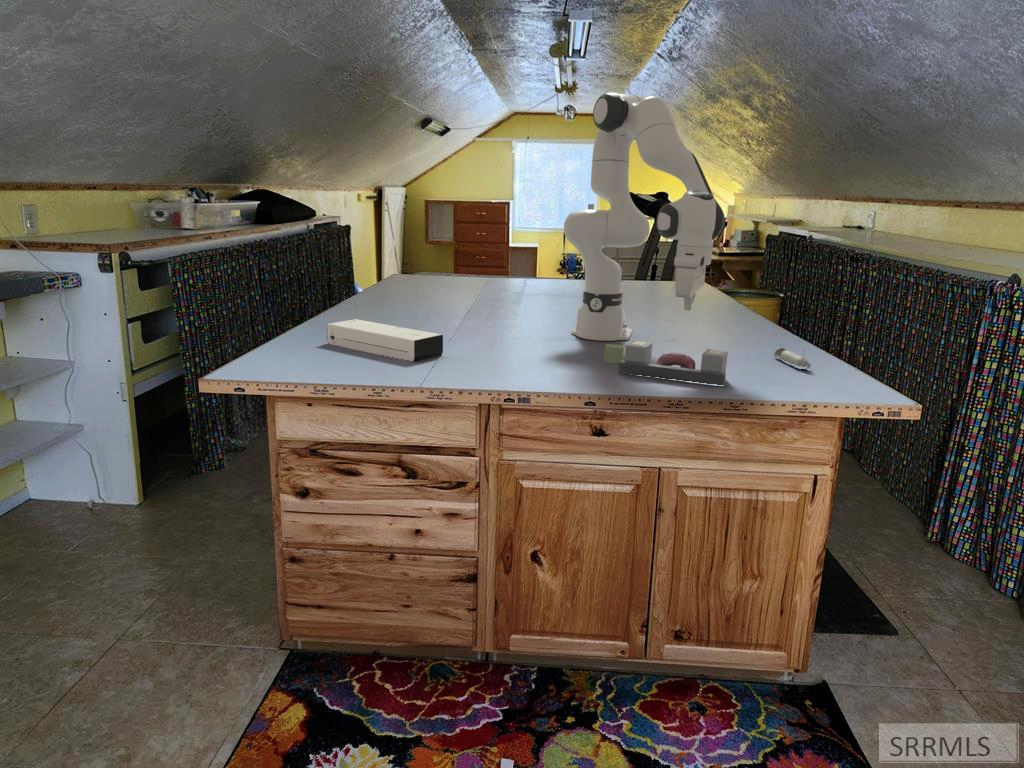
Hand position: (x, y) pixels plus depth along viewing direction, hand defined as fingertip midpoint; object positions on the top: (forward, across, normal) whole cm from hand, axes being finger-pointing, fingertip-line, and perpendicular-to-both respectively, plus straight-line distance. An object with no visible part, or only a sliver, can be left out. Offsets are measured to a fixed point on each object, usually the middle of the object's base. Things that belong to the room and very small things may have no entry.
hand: (688, 309), depth 192 cm
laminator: (+16, +26, -78) cm, 84 cm away
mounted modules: (+15, +13, +1) cm, 20 cm away
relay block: (+15, +6, -17) cm, 24 cm away
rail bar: (+14, +18, +1) cm, 23 cm away
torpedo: (+16, -16, +27) cm, 35 cm away
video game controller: (+15, +14, +1) cm, 20 cm away
